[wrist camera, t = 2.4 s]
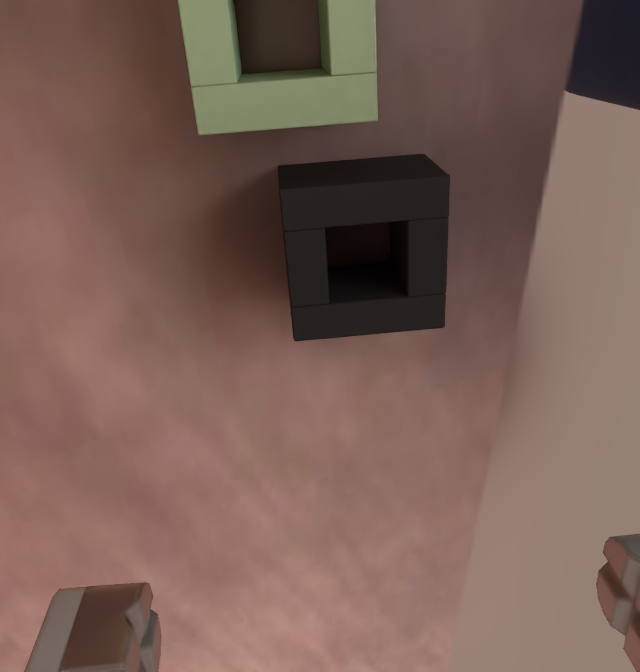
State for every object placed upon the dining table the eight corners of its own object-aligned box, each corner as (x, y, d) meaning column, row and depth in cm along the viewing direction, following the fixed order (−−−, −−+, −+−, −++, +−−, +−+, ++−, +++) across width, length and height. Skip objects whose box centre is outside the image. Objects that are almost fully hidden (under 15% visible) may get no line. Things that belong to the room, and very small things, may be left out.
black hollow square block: (424, 153, 25) (450, 175, 21) (422, 289, 28) (445, 328, 24) (277, 165, 25) (279, 189, 21) (290, 301, 27) (293, 342, 24)
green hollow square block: (356, -77, 21) (373, -97, 18) (361, 106, 24) (378, 121, 20) (182, -66, 21) (164, -83, 17) (208, 118, 24) (197, 135, 20)
